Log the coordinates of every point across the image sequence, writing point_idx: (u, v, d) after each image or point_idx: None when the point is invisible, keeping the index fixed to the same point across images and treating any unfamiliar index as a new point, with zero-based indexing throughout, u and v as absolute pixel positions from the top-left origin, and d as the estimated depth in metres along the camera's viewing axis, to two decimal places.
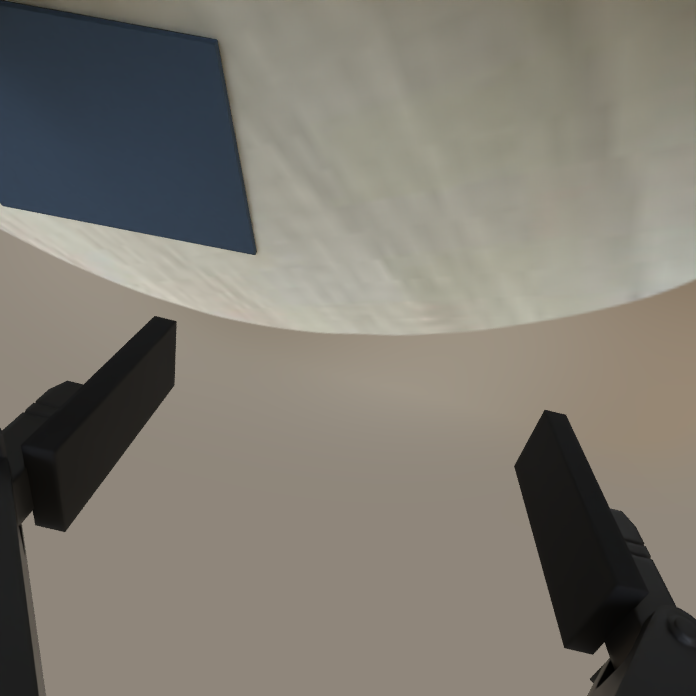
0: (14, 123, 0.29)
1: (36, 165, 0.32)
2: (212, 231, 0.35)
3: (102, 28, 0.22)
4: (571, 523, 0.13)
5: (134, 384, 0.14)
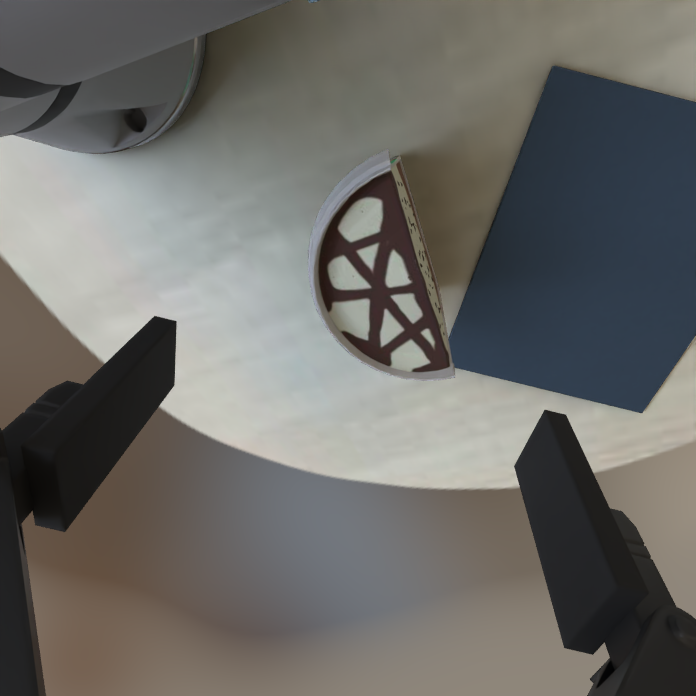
0: (567, 315, 0.33)
1: (610, 332, 0.34)
2: None
3: (518, 167, 0.29)
4: (571, 523, 0.13)
5: (134, 384, 0.14)
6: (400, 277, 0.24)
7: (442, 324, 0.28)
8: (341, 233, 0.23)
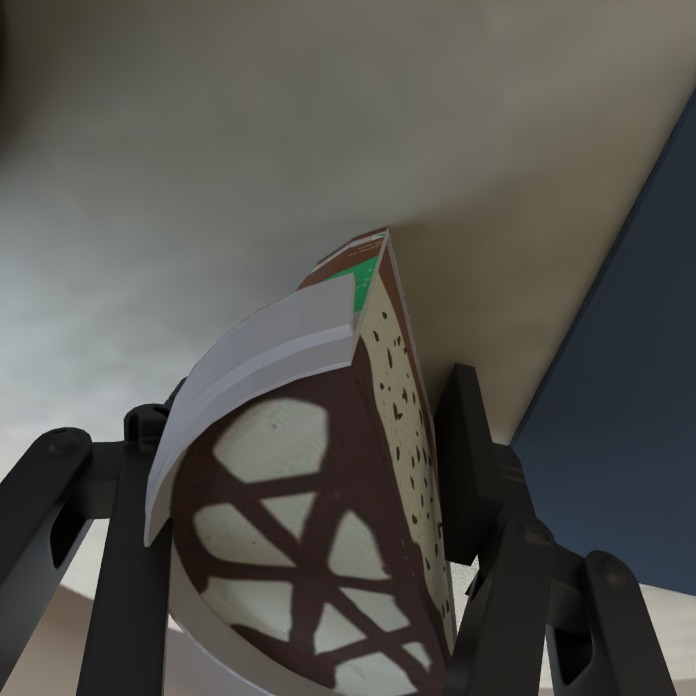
0: (685, 485, 0.19)
1: None
2: None
3: (623, 250, 0.15)
4: (459, 454, 0.15)
5: None
6: (363, 565, 0.10)
7: (444, 570, 0.14)
8: (222, 463, 0.09)
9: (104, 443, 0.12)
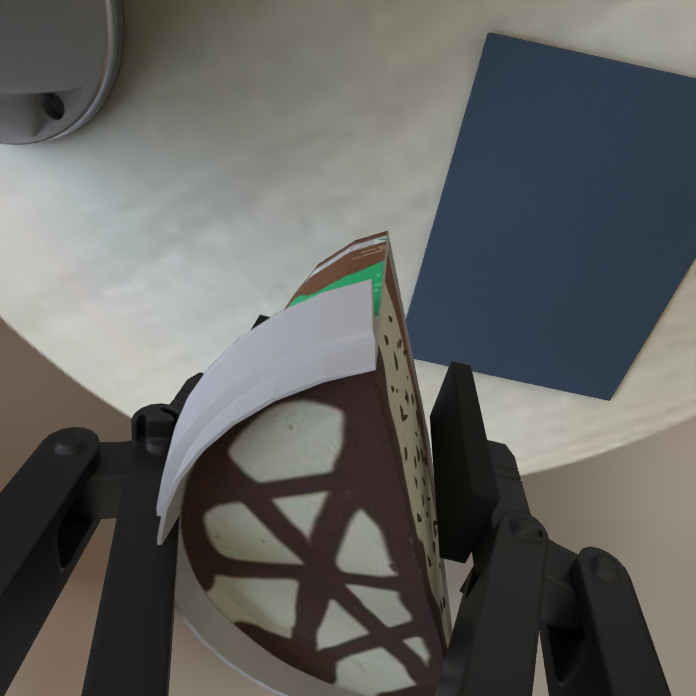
0: (524, 300, 0.32)
1: (570, 317, 0.32)
2: None
3: (460, 144, 0.27)
4: (454, 452, 0.15)
5: None
6: (370, 562, 0.10)
7: (440, 567, 0.15)
8: (236, 463, 0.09)
9: (111, 442, 0.12)
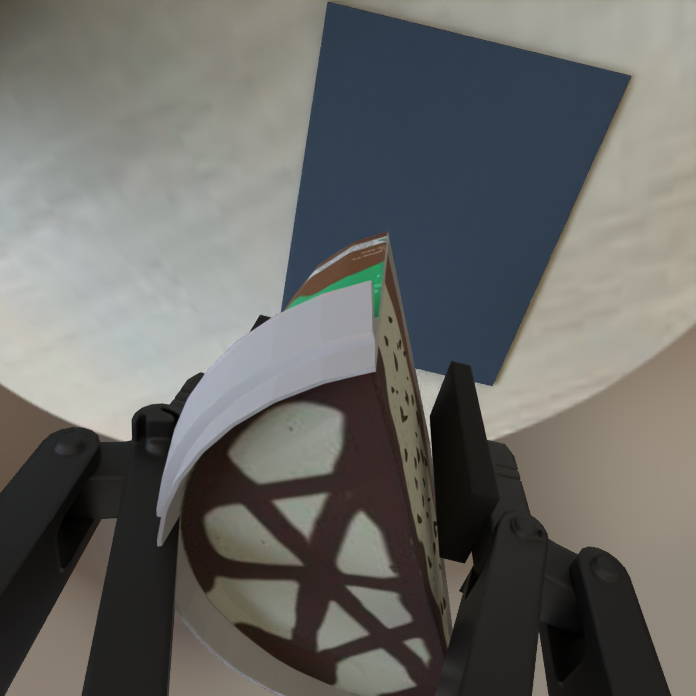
0: None
1: (443, 299, 0.32)
2: (569, 128, 0.26)
3: (313, 117, 0.27)
4: (454, 452, 0.15)
5: None
6: (371, 563, 0.10)
7: (440, 568, 0.15)
8: (236, 464, 0.09)
9: (111, 442, 0.12)
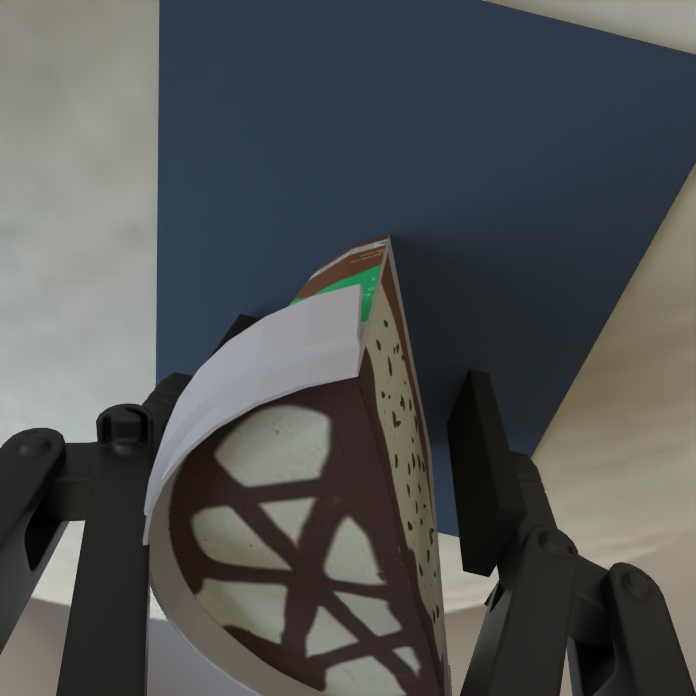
0: None
1: None
2: (623, 165, 0.14)
3: (163, 139, 0.15)
4: (476, 463, 0.14)
5: None
6: (358, 570, 0.10)
7: (435, 576, 0.15)
8: (223, 466, 0.09)
9: (78, 443, 0.12)
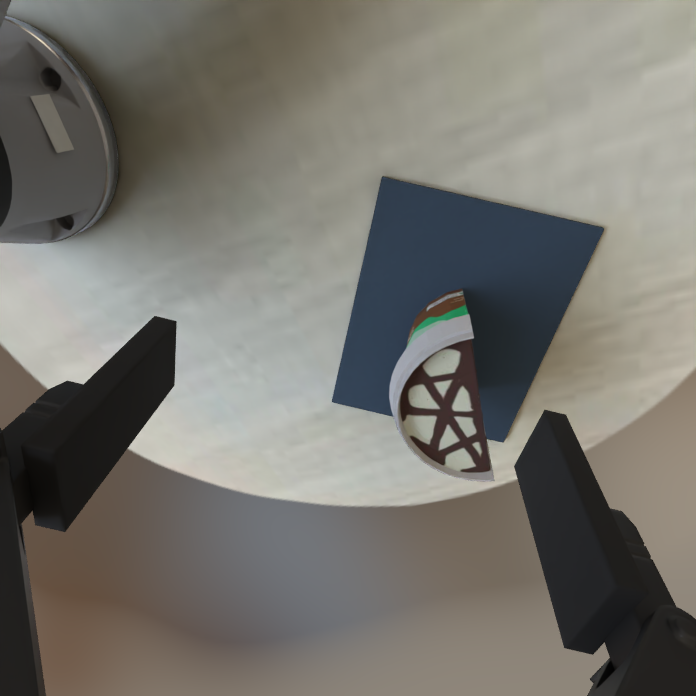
0: None
1: None
2: (560, 262, 0.35)
3: (368, 250, 0.36)
4: (571, 523, 0.13)
5: (134, 384, 0.14)
6: (464, 405, 0.31)
7: None
8: (424, 369, 0.30)
9: None
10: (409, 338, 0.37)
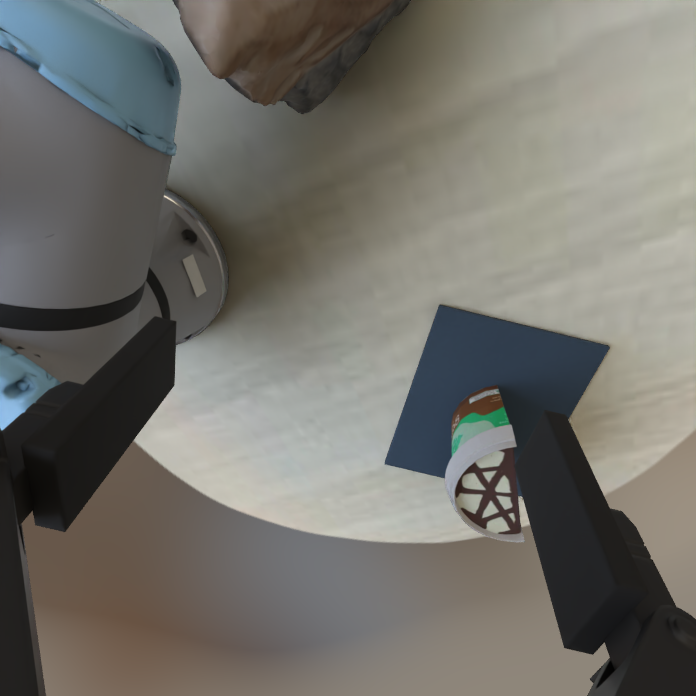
0: None
1: None
2: (574, 369, 0.45)
3: (424, 356, 0.46)
4: (571, 523, 0.13)
5: (134, 384, 0.14)
6: (504, 489, 0.41)
7: None
8: (476, 463, 0.40)
9: None
10: (455, 424, 0.47)
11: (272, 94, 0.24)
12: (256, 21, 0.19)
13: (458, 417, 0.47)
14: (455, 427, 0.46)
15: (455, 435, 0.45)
